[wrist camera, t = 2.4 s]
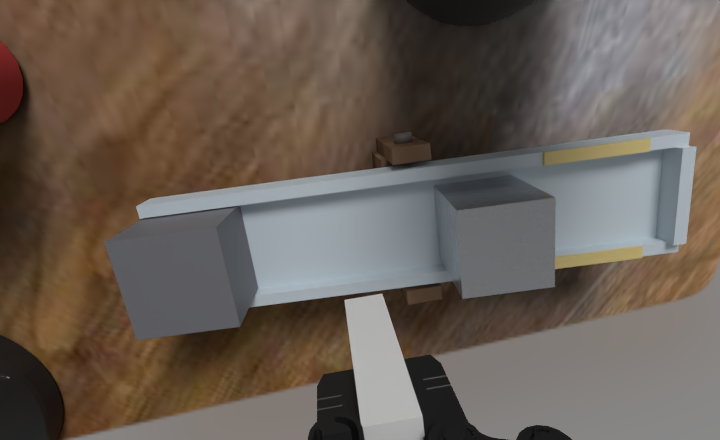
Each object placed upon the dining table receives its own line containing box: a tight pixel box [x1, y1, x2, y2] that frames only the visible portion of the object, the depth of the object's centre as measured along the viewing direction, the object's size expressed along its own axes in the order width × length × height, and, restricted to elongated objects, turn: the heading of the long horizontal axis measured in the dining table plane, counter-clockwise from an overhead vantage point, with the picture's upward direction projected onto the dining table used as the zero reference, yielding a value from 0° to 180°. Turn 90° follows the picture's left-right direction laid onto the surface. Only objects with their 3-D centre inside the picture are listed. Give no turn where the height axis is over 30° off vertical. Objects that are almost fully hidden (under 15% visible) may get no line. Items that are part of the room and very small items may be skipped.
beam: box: [104, 130, 696, 340], centre depth 26 cm, size 34×8×6 cm, turn 97°
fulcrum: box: [372, 132, 443, 305], centre depth 30 cm, size 3×12×6 cm, turn 7°
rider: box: [434, 175, 556, 299], centre depth 25 cm, size 5×5×6 cm
